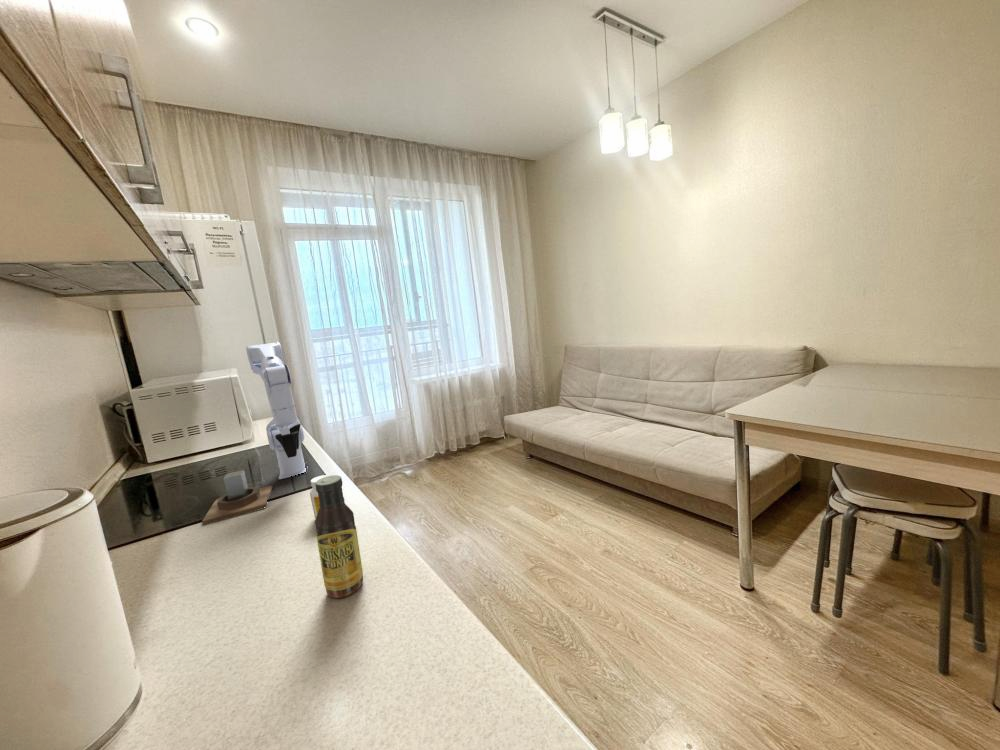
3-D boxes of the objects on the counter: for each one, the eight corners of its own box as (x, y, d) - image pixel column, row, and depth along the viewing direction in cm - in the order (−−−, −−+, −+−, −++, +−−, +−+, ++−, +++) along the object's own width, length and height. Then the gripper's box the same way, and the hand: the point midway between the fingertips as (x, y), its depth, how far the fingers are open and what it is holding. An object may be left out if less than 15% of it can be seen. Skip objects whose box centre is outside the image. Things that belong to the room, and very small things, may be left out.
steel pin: (233, 500, 108) (226, 473, 107) (250, 496, 109) (243, 469, 108) (230, 506, 104) (223, 478, 103) (247, 502, 106) (240, 474, 105)
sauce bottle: (323, 605, 64) (299, 492, 61) (329, 581, 70) (307, 477, 67) (365, 593, 65) (343, 483, 62) (367, 571, 71) (347, 469, 68)
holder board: (217, 502, 111) (214, 492, 110) (272, 488, 116) (270, 478, 116) (202, 524, 98) (200, 513, 97) (266, 507, 103) (263, 497, 103)
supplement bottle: (343, 512, 95) (336, 475, 94) (324, 523, 91) (315, 485, 89) (330, 508, 98) (323, 472, 97) (310, 519, 94) (302, 481, 92)
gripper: (271, 406, 116) (281, 449, 118) (263, 415, 103) (274, 464, 105) (297, 401, 119) (306, 444, 121) (293, 409, 106) (303, 457, 108)
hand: (293, 453), depth 113 cm, fingers open, 7 cm apart
